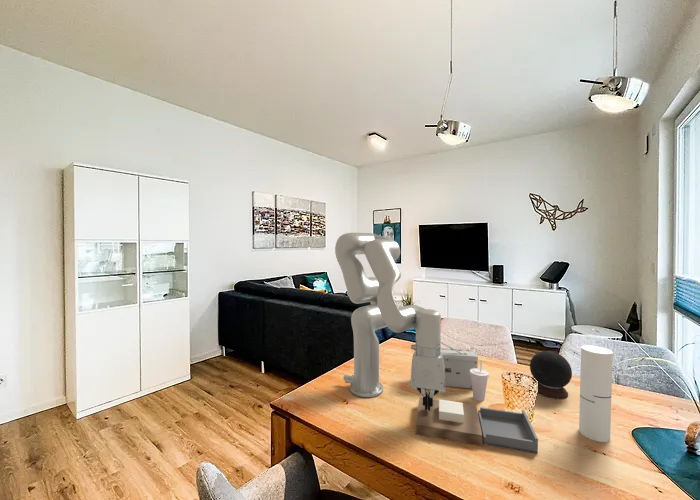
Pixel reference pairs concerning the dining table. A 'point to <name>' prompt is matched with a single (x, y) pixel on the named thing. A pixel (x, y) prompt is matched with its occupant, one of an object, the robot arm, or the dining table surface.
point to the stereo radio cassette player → (459, 366)
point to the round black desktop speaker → (551, 374)
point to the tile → (451, 411)
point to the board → (449, 424)
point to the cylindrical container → (595, 392)
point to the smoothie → (479, 382)
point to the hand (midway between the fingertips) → (427, 407)
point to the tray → (507, 430)
